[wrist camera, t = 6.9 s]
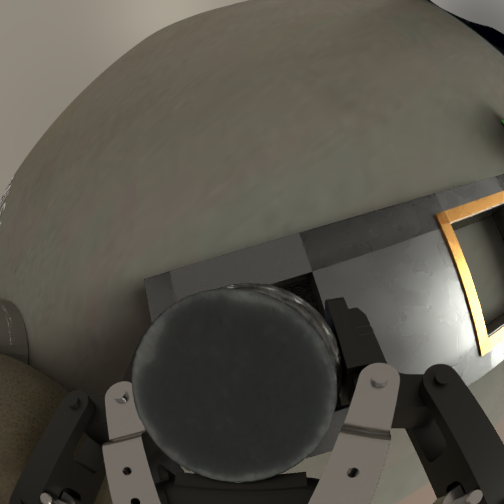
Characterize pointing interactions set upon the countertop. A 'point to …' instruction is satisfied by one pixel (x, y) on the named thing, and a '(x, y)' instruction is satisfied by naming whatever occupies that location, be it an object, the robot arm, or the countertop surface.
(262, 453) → the pill bottle
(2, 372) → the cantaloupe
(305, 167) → the countertop surface
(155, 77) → the countertop surface
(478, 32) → the countertop surface
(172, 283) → the grey rectangular tray
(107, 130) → the countertop surface
